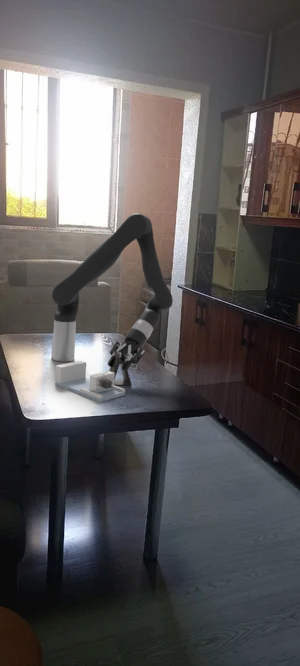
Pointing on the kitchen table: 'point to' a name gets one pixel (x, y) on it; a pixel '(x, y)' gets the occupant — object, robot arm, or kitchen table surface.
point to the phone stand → (115, 365)
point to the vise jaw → (102, 382)
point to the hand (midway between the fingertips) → (116, 367)
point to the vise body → (82, 382)
